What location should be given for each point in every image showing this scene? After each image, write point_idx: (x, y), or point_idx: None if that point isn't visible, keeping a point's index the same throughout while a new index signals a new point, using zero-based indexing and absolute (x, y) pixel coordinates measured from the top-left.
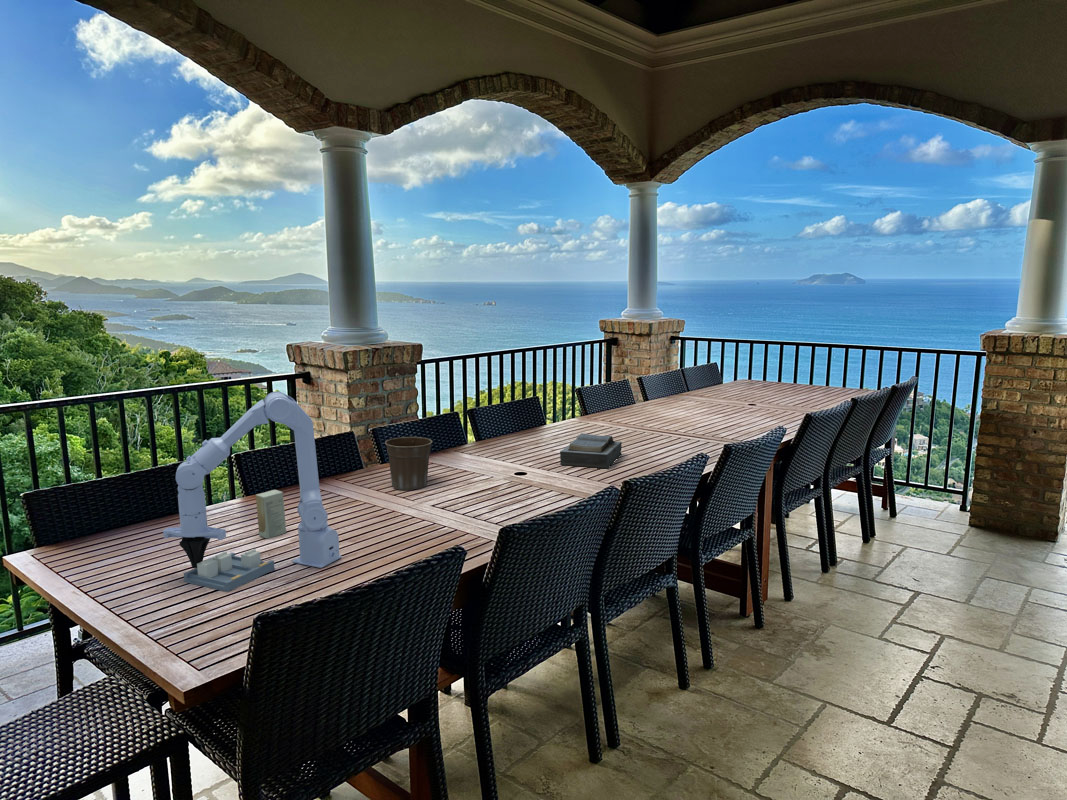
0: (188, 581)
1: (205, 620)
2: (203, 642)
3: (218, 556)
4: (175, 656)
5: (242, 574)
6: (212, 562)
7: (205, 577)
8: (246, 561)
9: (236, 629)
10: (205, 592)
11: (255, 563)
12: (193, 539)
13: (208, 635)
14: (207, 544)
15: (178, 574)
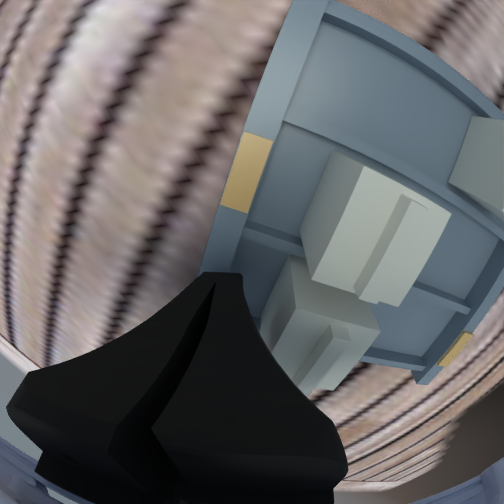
0: None
1: (382, 445)
2: (391, 466)
3: (379, 292)
4: (362, 482)
5: (475, 319)
6: (357, 357)
7: None
8: (499, 215)
9: (435, 442)
10: None
11: None
12: (171, 499)
13: (395, 459)
14: (288, 379)
15: (103, 221)
